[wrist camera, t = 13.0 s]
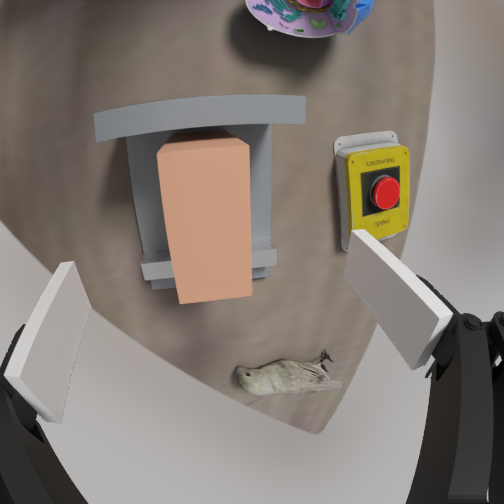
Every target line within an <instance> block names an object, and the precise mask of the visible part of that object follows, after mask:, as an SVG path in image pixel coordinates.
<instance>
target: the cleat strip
mask: <svg viewBox="0 0 504 504" xmlns="http://www.w3.org/2000/svg"><path fill="white" fill-rule="evenodd" d="M251 256H252V268H258V267H266V266H274V265H276V257H277V248H276V247H275V245H274V243H273V242H272V240H271V239H263V240H253V241H251ZM141 267H142V271H143V275H144V279H145V280H155V279H164V278H173V277H174V272H173V267H172V261H171V256H170V250H163V251H155V252H146V253H144V254H143V258H142V262H141Z"/></svg>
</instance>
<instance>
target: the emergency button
mask: <svg viewBox="0 0 504 504" xmlns="http://www.w3.org/2000/svg"><path fill="white" fill-rule="evenodd" d="M333 148H334V157H335V166H336V175H337V186H338V198H339V212H340V228H341V246H342V249H343V250H344V251H348V248H349V242H350V235H351V230H360V229H365V230H366V231H367V232H368V233H369V234H370V235H372V236H373V237H374V238H375V239H376V240H377V241H378V242H379V241H382V240H385V239H388V238H391V237H393V236H395V234H396V233H398V232H401V231H404V230H405V229H406V228H407V226H408V217H409V193H410V157H409V150H408V149H407V148H406V147H405V146H402V145H400V144H398V140H397V135H396V134H395V132H393V131H382V132H373V133H365V134H357V135H350V136H343V137H339V138H337V139H336V140H335V142H334V147H333Z"/></svg>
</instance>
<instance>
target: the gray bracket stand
mask: <svg viewBox="0 0 504 504" xmlns="http://www.w3.org/2000/svg"><path fill="white" fill-rule="evenodd" d="M305 112H306V96H293V95H221V96H204V97H192V98H181V99H172V100H164V101H157V102H150V103H143V104H137V105H131V106H126V107H121V108H116V109H111V110H106V111H102V112H97V113H93V118H94V129H95V138H96V142H100V141H105V140H110V139H115V138H121V137H126V146H127V155H128V163H129V171H130V178H131V185H132V192H133V198H134V204H135V210H136V216H137V221H138V226H139V232H140V237H141V242H142V246H143V251H144V253H146V252H155V251H163V250H169V244H168V238H167V231H166V225H165V218H164V211H163V204H162V196H161V189H160V180H159V171H158V162H157V153H158V151H159V150H160V149H161V148H162V146H163V145H164V144H165V143H166V141H167V140H168V139H169V138H170V137H171V135H174V134H183V133H193V132H205V131H218V130H226V131H227V132H229V133H231V134H232V135H234V136H235V137H237V138H238V139H240V140H242V141H243V142H245V143H246V144H248V145H249V153H250V205H251V241H253V240H263V239H271V124H305ZM269 276H270V266H266V267H258V268H252V279H254V278H261V277H269ZM150 281H151V285H152V289H153V290H160V289H169V288H176V283H175V277H173V278H164V279H155V280H150Z"/></svg>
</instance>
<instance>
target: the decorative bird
mask: <svg viewBox="0 0 504 504" xmlns="http://www.w3.org/2000/svg"><path fill="white" fill-rule="evenodd" d="M324 352H325V350H324ZM322 353H323V352H322ZM323 355H324V356H325V357H322V358H323V359H322V360H321V359H320V362H318V363H317V364H312V363H310V362H300V361H294V360H287V359H284V360H279V361H276V362H274V363H271V364H269V365H266V366H264V367H262V368H261V369H247V368H245V367H240V366H237V367H236V373H237V379H238V382H239V384H240V386H241V387H242V388H243V390H245V391H246V392H247V393H249V394H251V395H255V396H266V395H272V394H281V395H301V394H309V393H313V392H316V391H329V390H338V389H341V388H342V387H343V386H342V385H341V384H342V382H341V381H332V380H330V378H329V377H328V376H327V375H326V373H325V372H324V370H325V371H326V372H328V371H327V370H326V368H325V366H324V365H323V364H322V363H323V360H325V359H329V360H330V361H331V362H333V361H332V360H331V359H330V356H329V355H328V354H327V353H326V352H325V354H324V353H323ZM320 366H321V367H320ZM323 369H324V370H323Z"/></svg>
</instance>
